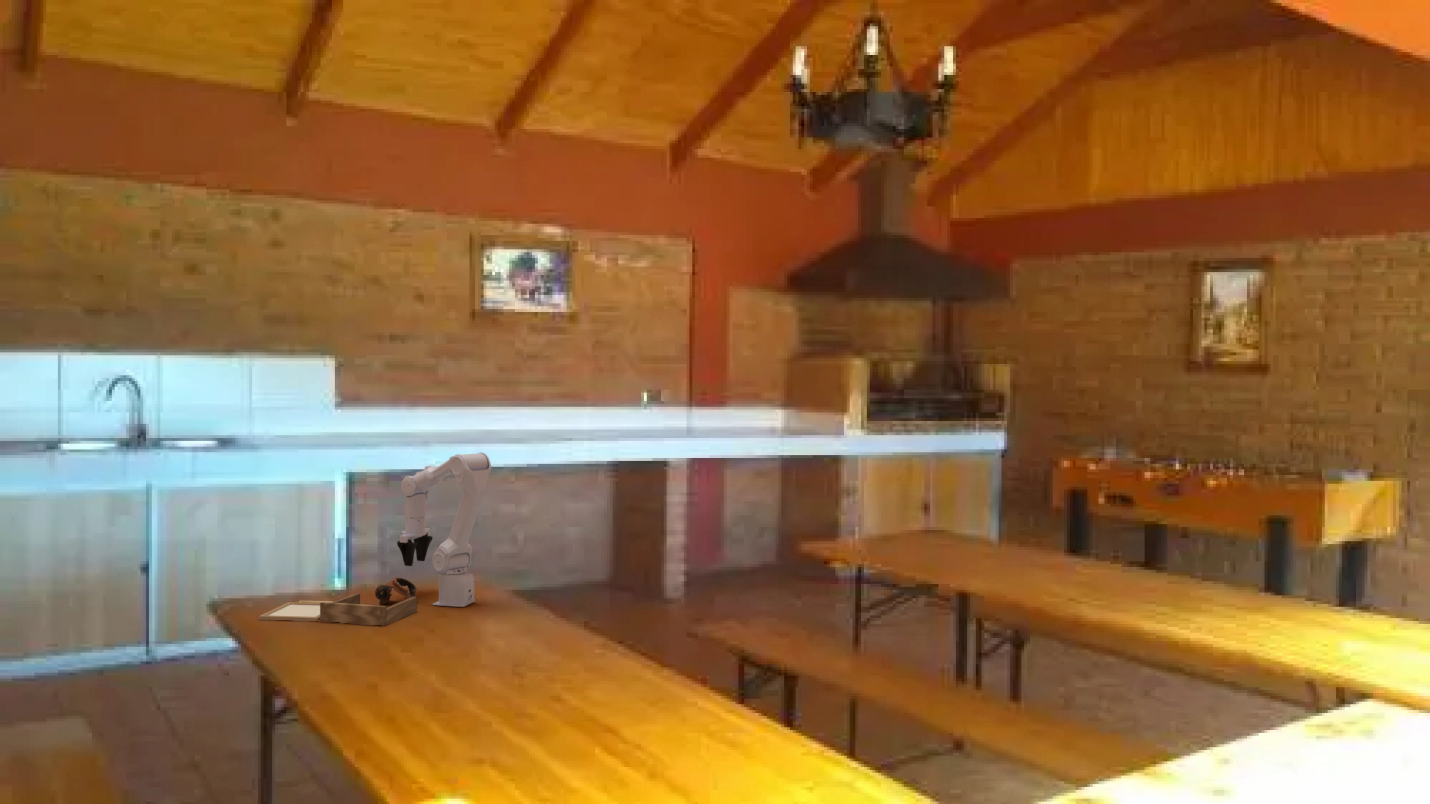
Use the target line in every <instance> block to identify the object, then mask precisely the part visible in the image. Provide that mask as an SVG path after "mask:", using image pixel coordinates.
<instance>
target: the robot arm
mask: <svg viewBox="0 0 1430 804" xmlns="http://www.w3.org/2000/svg"><path fill="white" fill-rule="evenodd" d="M491 471H492V463H491V461H490V457H489V456H488V455H487V454H486V453H485V452H478V453H477V452H476V453H466V454H460V453H457V454H455V455H452V456H449V459H448V460H446V461H445V462H443V463H442V464H440V465H438V466H434V465H433V466H432V465H427V466H425V467H424V470H421V471H417V472H416V473H415V474H414V475H413V476H410V475H406V476H405V477H404V478H403V479H402V481H401V484H400V486H401V487H400V488H401V489H400V490H401V493H402V494H403V495H404V496H405V499H404V501H405V502H404V504H405V505H404V506H405V508H404V510H405V511H404V512H405V513H404V519H405V520H404V530H402V531H401V535H399V540H398V541H396V545H397V547H398V548H399V550H400V552H401V557H402V561H403V563H404V567H405V566H406V567H412V566H413V564H414V558H415V557H416V561H418V562H425V561H426V556H427V553H428V549H429V547H430V545H431V543H432V541H433V536H432V535H431V528H430V527H426V515H427V514H426V507H427V506H426V503H427V500H428V499H429V496H428V494H429V493H430V492H431V491H430V490H431V489H434V488H435V487H438V486H439V485H441V484H442V482H443V480H444V478H445V477H448V476H450V475H452V474H453V477H454V478H455V481H456V482H457V483H458V484H457V485H458V486H459V487H460V488H462V489H463V490H464V492H463V495H462V498H461V501H460V503H459V506H458V510H457V511H456V515H455V518H454V521H453V523H452V527H451V530H450V533H449V535H448V538H447V539H445V540H444V541H443V542H442V543H440V544H439V545H438V548H437V550H436V551H435V552H434V553H433V555H432V558H431V559H432V561H431V562H432V563H431V564H432V566H433V567H432V568H434V570H435V571H436V574H438V601H435V602H433V603H432V605H433V606H441V607H443V606H444V607H455V608H456V607H458V608H459V607H460V608H463V607H467V606H468V605H471V604H473V603H475V602H476V599H475V577H474V574H472V573H468V572H467V571H468V568H469V567H470V566H471V563H472V553H473V550H474V549H473V547H472V545H471V544H470V543H469V539H470V537H471V534H472V532H473V528H474V526H475V523H476V520H477V518H478V515H479V513H480V509H481V506H482V504H483V500H484V498H485V495H486V492H487V484H488V480H489V477H490V473H491ZM415 555H416V556H415ZM414 556H415V557H414Z"/></svg>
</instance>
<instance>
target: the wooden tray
mask: <svg viewBox="0 0 1430 804" xmlns="http://www.w3.org/2000/svg"><path fill="white" fill-rule="evenodd" d="M405 599H406V598H405ZM405 599H404V600H401V601H398V602H397V603H395V604H392V605H390V606H387V605H374V604H373V605H372V604H361V592H356V593H353V594H350V595H347V596H345V597H342V598H340V599H337V600H333V601H334V602H321V603H320V623H330V622H340V623H339V624H344V623H351V624H350V625H358V624H359V625H361V626H373V625H381V626H380V627H386V626H388V625H390V624H392V623H395V622H397V621H399V620H401V619H403V618H405V617H408V616H410V615H413V614H415V613H417V612H416V611H418V597H417V596H415V597H411V598H409V599H406V600H405ZM396 620H397V621H396ZM391 622H392V623H391ZM359 625H358V626H359ZM385 625H386V626H385Z"/></svg>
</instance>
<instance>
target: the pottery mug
mask: <svg viewBox="0 0 1430 804" xmlns="http://www.w3.org/2000/svg"><path fill="white" fill-rule="evenodd" d="M406 587H407V588H406ZM392 591H395V592H397V593H398V594H401V595H402V596H403V597H405V598H404V600H406V599H409V598H411V597H416V592H417V591H418V590H417V587H416V585H415V584H414V583H413V582H411V581H410V580H407V579H405V578H402V577H398V576H397V577H394V578H393V580H391V581H389V582H387V583H386V584H381V585H379V586H377V587H376V589H375V591H374V595H375V598H376V599H377V600H379V602H378V604H379V606H382V604H386V603H387V602H389V601H390V600H391V597H392V595H393V594H392Z"/></svg>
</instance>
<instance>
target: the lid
mask: <svg viewBox="0 0 1430 804" xmlns="http://www.w3.org/2000/svg"><path fill="white" fill-rule="evenodd" d="M334 601H335V600H333V601H332V600H331V601H330V600H329V601H328V600H299V601H296V602H295V601H290V602H286V603H284V604H282V605H279V606H277V607H275V608H273V609H271V610H269V611H267V612H265V613H262V614H261V615H258V621H275V620H293V621H292V622H310V621H313V622H314V621H318V622H319V620H320V603H321V602H334ZM313 622H312V623H313ZM310 623H311V622H310ZM314 623H315V622H314Z"/></svg>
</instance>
